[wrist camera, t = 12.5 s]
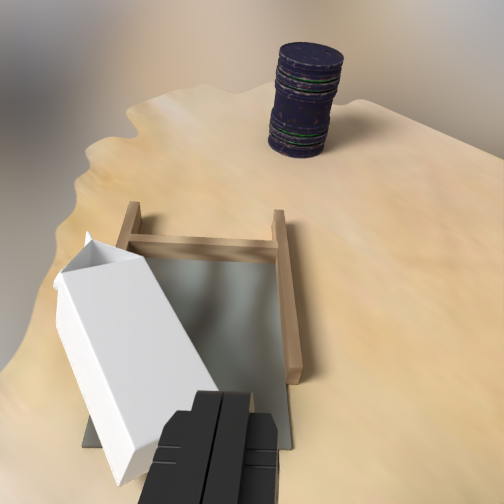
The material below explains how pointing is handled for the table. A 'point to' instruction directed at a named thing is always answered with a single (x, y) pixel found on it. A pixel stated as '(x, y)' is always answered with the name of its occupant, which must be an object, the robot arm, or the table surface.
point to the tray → (229, 310)
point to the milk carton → (125, 353)
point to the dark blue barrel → (303, 98)
